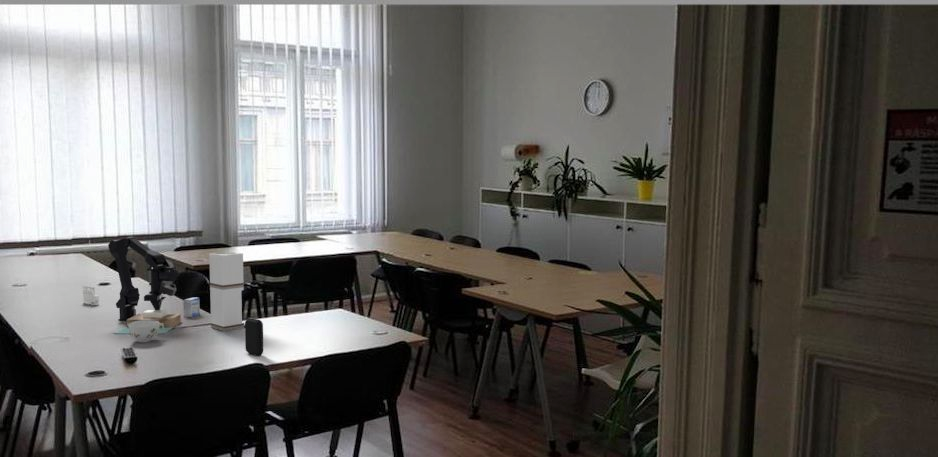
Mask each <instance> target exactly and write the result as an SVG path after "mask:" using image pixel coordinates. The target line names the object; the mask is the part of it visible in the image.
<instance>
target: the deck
mask: <svg viewBox="0 0 938 457" xmlns="http://www.w3.org/2000/svg"><path fill="white" fill-rule="evenodd" d="M141 320H151V321H158V322H159V323H163V324H164V328H172V329H173V327H175V326H176V325H178V324H180V323H181V322H182V321H181V320H182V318H181V313H166V316H164V317H162V318H143V316H142V313H138V314H137V313H136V315H135V316H133V317H131V318H129V319H127V320H126V327H129V326H128V324H129V323H131V322H135V321H141ZM159 328H162V326H159Z"/></svg>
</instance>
